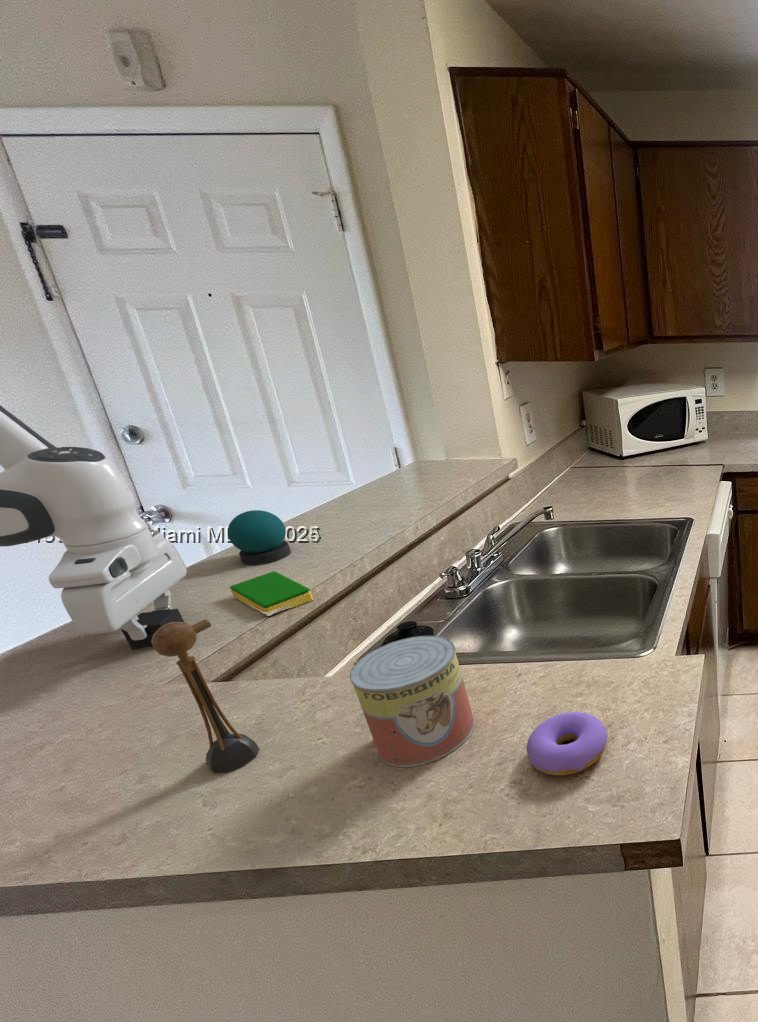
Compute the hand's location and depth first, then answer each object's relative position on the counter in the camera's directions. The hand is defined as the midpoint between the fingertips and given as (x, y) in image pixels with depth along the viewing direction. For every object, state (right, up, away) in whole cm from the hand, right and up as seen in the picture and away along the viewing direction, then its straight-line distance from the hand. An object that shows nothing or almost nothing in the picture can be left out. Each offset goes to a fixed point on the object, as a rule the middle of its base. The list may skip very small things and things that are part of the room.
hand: (154, 627), depth 100 cm
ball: (-7, +11, +29) cm, 31 cm away
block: (0, -2, +1) cm, 2 cm away
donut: (+76, -13, -21) cm, 80 cm away
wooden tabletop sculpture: (+34, -13, -22) cm, 43 cm away
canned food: (+56, -12, -19) cm, 60 cm away
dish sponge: (+8, +3, +13) cm, 16 cm away
